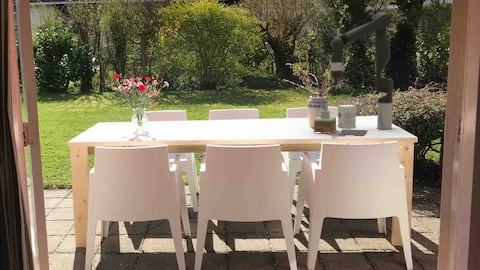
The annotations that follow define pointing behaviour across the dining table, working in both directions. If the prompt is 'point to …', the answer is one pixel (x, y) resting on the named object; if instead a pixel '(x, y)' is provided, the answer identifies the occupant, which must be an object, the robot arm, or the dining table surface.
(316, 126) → the walnut box
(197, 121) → the dining table surface
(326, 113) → the lid
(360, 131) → the rubber mat
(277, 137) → the dining table surface
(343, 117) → the supplement box
